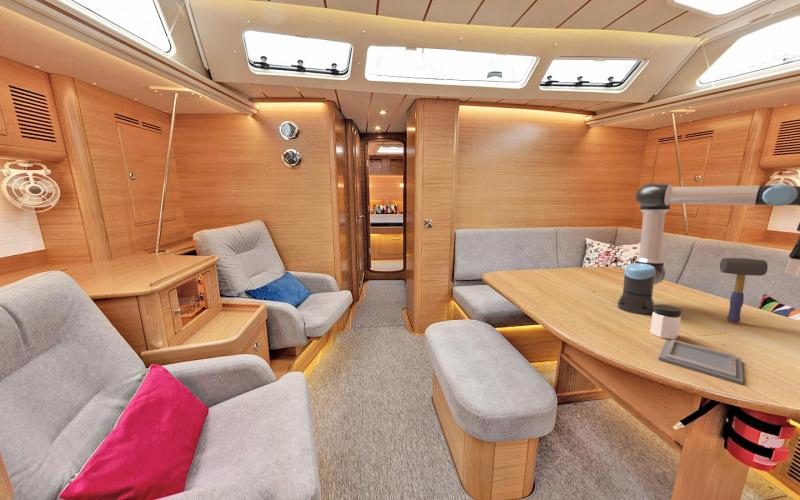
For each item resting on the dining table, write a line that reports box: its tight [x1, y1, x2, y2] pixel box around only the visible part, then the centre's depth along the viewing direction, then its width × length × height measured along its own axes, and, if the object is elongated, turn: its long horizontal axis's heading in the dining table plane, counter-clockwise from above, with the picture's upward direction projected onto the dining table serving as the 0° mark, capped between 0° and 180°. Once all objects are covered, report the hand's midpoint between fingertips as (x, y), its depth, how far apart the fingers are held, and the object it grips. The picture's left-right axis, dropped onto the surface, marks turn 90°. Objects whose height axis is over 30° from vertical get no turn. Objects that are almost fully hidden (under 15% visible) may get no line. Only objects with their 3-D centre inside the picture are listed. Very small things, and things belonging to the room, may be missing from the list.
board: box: [658, 339, 744, 385], centre depth 98 cm, size 19×19×1 cm
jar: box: [649, 304, 682, 340], centre depth 116 cm, size 9×8×12 cm
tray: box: [665, 339, 736, 377], centre depth 97 cm, size 16×16×1 cm
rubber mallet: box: [719, 257, 769, 324], centre depth 124 cm, size 12×8×30 cm, turn 56°
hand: (795, 275), depth 109 cm, fingers open, 13 cm apart
